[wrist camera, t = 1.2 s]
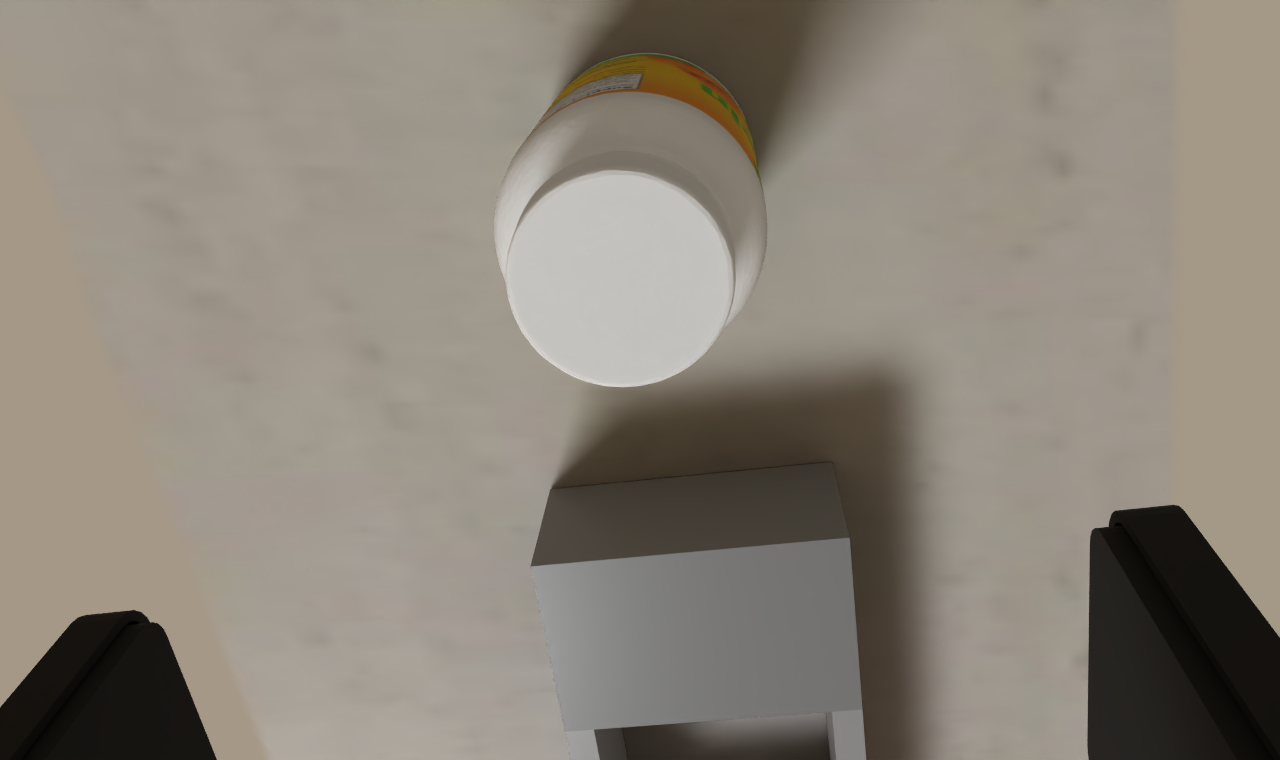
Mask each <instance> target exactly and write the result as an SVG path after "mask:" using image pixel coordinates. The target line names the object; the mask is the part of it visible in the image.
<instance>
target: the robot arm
mask: <svg viewBox="0 0 1280 760" xmlns="http://www.w3.org/2000/svg"><path fill="white" fill-rule="evenodd" d="M1088 756H1089V760H1280V637H1279V636H1278V635H1277V633H1276V632H1275V631H1274V629H1273V628H1272V627H1271V626H1270V624H1269V623H1268V621H1267V620H1266V619H1265V618H1264V616H1263V615H1262V614H1261V612H1260V611H1259V610H1258V608H1257V607H1256V606H1255V604H1254V603H1253V602H1252V600H1251V599H1250V598H1249V596H1248V595H1247V594H1246V592H1245V591H1244V590H1243V588H1242V587H1241V586H1240V584H1239V583H1238V582H1237V580H1236V579H1235V578H1234V576H1233V575H1232V574H1231V572H1230V571H1229V570H1228V568H1227V567H1226V566H1225V565H1224V563H1223V562H1222V560H1221V559H1220V558H1219V556H1218V555H1217V554H1216V553H1215V551H1214V550H1213V548H1212V547H1211V546H1210V544H1209V543H1208V542H1207V540H1206V539H1205V538H1204V537H1203V535H1202V534H1201V532H1200V531H1199V530H1198V528H1197V527H1196V526H1195V525H1194V523H1193V522H1192V521H1191V519H1190V518H1189V517H1188V515H1187V514H1186V513H1185V511H1184V510H1183V509H1182V508H1181V507H1179V506H1177V505H1168V506H1158V507H1148V508H1139V509H1129V510H1119V511H1114V512H1113V513H1112V515H1111V518H1110V521H1109V527H1104V528H1095V529H1094V530H1092V533H1091V538H1090V586H1089V667H1088ZM0 760H217V759H216V757H215V754H214V752H213V749H212V747H211V744H210V742H209V739H208V737H207V734H206V732H205V729H204V727H203V724H202V722H201V719H200V717H199V714H198V712H197V709H196V707H195V704H194V702H193V699H192V697H191V695H190V692H189V689H188V687H187V685H186V682H185V679H184V677H183V674H182V672H181V670H180V667H179V665H178V662H177V660H176V657H175V655H174V652H173V650H172V647H171V645H170V642H169V640H168V637H167V635H166V633H165V631H164V629H163V628H162V627H161V626H160V625H159V624H157V623H153V622H152V623H150V622H149V620H148V618H147V617H146V616H145V615H144V614H142V613H141V612H139V611H135V610H131V611H122V612H112V613H103V614H92V615H85V616H81V617H79V618H77V619H76V620H75V621H73V622H72V623H71V624H70V625H69V627H68V628H67V629H66V630H65V631H64V633H63V634H62V635H61V636H60V637H59V638H58V640H57V641H56V642H55V643H54V645H53V646H52V647H51V648H50V649H49V650H48V652H47V653H46V654H45V655H44V656H43V658H42V659H41V660H40V661H39V662H38V663H37V665H36V666H35V667H34V668H33V669H32V670H31V672H30V673H29V674H28V675H27V676H26V678H25V679H24V680H23V681H22V682H21V684H20V685H19V686H18V687H17V688H16V689H15V691H14V692H13V693H12V694H11V695H10V697H9V698H8V699H7V700H6V702H4V704H3V705H2V706H1V707H0Z"/></svg>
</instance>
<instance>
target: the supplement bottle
mask: <svg viewBox="0 0 1280 760" xmlns="http://www.w3.org/2000/svg"><path fill="white" fill-rule="evenodd" d="M494 237H495V246H496V251H497V256H498V260H499V264H500V268H501V271H502V273H503V276H504V279H505V281H506V288H507V294H508V299H509V302H510V306H511V309H512V312H513V315H514V317H515V319H516V321H517V323H518V325H519V327H520V329H521V331H522V333H523V334H524V335H525V337H526V338H527V340H528V341H529V342H530V344H531V345H532V346H533V347H534V348H535V349H536V351H537V352H538V353H539V354H540V355H541V356H543V357H544V358H545V359H546V360H548V361H549V362H550V363H551V364H553V365H554V366H556V367H557V368H559V369H560V370H562V371H563V372H565V373H567V374H569V375H571V376H573V377H575V378H578V379H581V380H583V381H586V382H590V383H594V384H598V385H603V386H612V387H635V386H641V385H647V384H651V383H655V382H659V381H663V380H665V379H667V378H669V377H671V376H674V375H676V374H678V373H679V372H681V371H683V370H684V369H686V368H688V367H689V366H691V365H692V364H693V363H694V362H696V361H697V360H698V359H699V358H700V357H702V356H703V355H704V354H705V353H706V351H707V350H708V349H709V348H710V347H711V346H712V344H713V343H714V342H715V340H716V339H717V338H718V336H719V335H720V333H721V331H722V330H723V329H724V328H725V327H726V326H727V325H728V324H729V323H730V322H731V320H732V319H733V318H734V317H735V316H736V315H737V314H738V313H739V312H740V310H741V309H742V308H743V306H744V305H745V303H746V302H747V300H748V299H749V297H750V295H751V293H752V291H753V289H754V287H755V285H756V283H757V280H758V278H759V275H760V272H761V269H762V265H763V262H764V258H765V252H766V246H767V214H766V205H765V199H764V193H763V189H762V185H761V180H760V175H759V171H758V166H757V161H756V155H755V149H754V144H753V140H752V136H751V133H750V129H749V127H748V124H747V121H746V119H745V116H744V114H743V112H742V110H741V109H740V107H739V105H738V103H737V102H736V100H735V99H734V97H733V96H732V95H731V93H730V92H729V91H728V90H727V89H726V88H725V87H724V86H723V85H722V84H721V83H720V82H719V81H718V80H717V79H716V78H715V77H714V76H712V75H711V74H710V73H708V72H707V71H705V70H704V69H702V68H701V67H699V66H697V65H695V64H693V63H691V62H689V61H687V60H684V59H681V58H678V57H675V56H670V55H666V54H659V53H634V54H628V55H622V56H618V57H615V58H612V59H609V60H606V61H603V62H601V63H598V64H597V65H595V66H593V67H591V68H589V69H588V70H586V71H585V72H583V73H582V74H580V75H579V76H578V77H577V78H576V79H574V80H573V81H572V82H571V83H570V84H569V85H567V86H566V88H565V89H564V90H563V91H562V92H561V93H560V94H559V96H558V97H557V98H556V99H555V101H554V102H553V104H552V105H551V106H550V107H549V109H548V110H547V111H546V113H545V114H544V115H543V117H542V118H541V120H540V121H539V123H538V124H537V125H536V127H535V128H534V129H533V131H532V132H531V134H530V135H529V136H528V138H527V139H526V140H525V142H524V143H523V144H522V146H521V147H520V148H519V150H518V151H517V153H516V154H515V156H514V158H513V159H512V161H511V163H510V165H509V167H508V169H507V172H506V174H505V176H504V179H503V181H502V184H501V187H500V190H499V194H498V198H497V203H496V208H495V219H494Z"/></svg>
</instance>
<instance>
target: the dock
mask: <svg viewBox="0 0 1280 760" xmlns="http://www.w3.org/2000/svg"><path fill="white" fill-rule="evenodd" d="M531 571H532V576H533V581H534V586H535V590H536V595H537V600H538V605H539V610H540V614H541V619H542V624H543V629H544V634H545V639H546V643H547V648H548V653H549V658H550V663H551V668H552V672H553V677H554V682H555V687H556V692H557V696H558V701H559V706H560V711H561V716H562V721H563V725H564V730H565V735H566V740H567V745H568V750H569V754H570V759H571V760H627V754H626V749H625V743H624V738H623V732H622V727H636V726H649V725H662V724H676V723H689V722H702V721H716V720H729V719H743V718H756V717H769V716H783V715H796V714H809V713H823V712H826V720H827V731H828V742H829V753H830V760H866V750H865V737H864V723H863V710H862V697H861V683H860V670H859V656H858V643H857V629H856V616H855V602H854V589H853V576H852V562H851V549H850V537H849V533H848V528H847V524H846V520H845V515H844V511H843V507H842V502H841V498H840V494H839V489H838V485H837V481H836V476H835V472H834V468H833V463H832V462H825V463H815V464H805V465H795V466H784V467H774V468H764V469H754V470H743V471H733V472H723V473H713V474H702V475H692V476H682V477H672V478H661V479H651V480H641V481H631V482H620V483H610V484H600V485H590V486H579V487H569V488H559V489H550V493H549V497H548V501H547V504H546V508H545V512H544V516H543V520H542V524H541V528H540V532H539V536H538V540H537V543H536V547H535V551H534V555H533V559H532V563H531Z"/></svg>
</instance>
